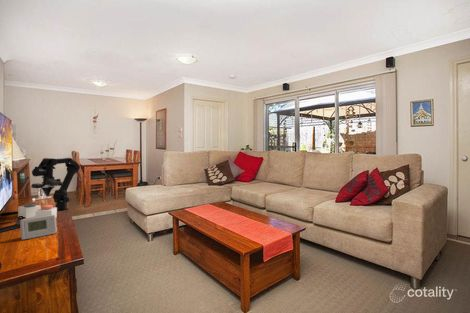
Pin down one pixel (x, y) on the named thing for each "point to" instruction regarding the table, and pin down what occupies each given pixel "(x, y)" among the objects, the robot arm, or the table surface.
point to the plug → (30, 205)
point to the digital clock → (38, 226)
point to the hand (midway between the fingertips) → (47, 196)
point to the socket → (28, 211)
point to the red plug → (46, 207)
